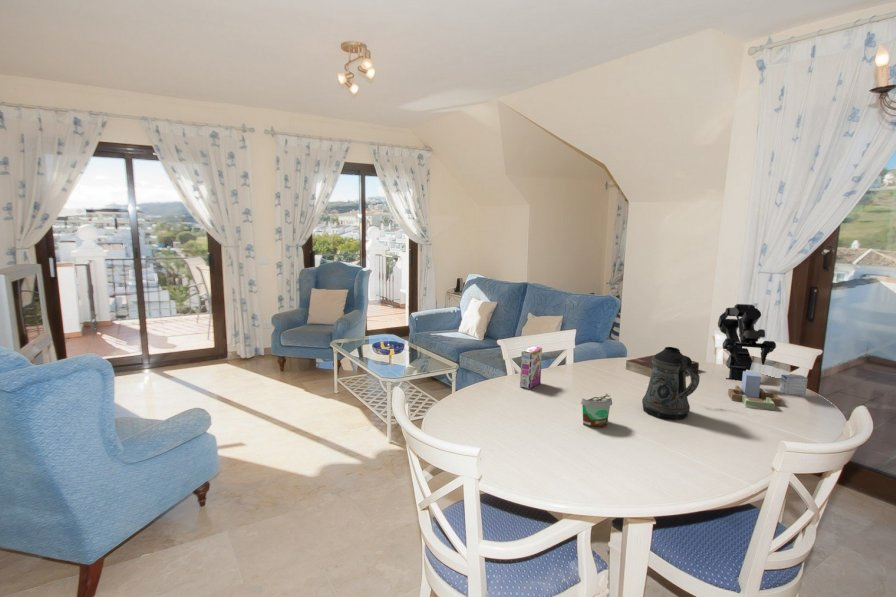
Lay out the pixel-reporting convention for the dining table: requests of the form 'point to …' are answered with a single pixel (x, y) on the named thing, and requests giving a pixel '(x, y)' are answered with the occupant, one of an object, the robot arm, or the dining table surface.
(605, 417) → the food container
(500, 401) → the dining table surface
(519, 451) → the dining table surface
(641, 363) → the hardback book
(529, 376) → the candy bar box
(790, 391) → the medicine box
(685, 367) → the beer stein
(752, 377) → the block
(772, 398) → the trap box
